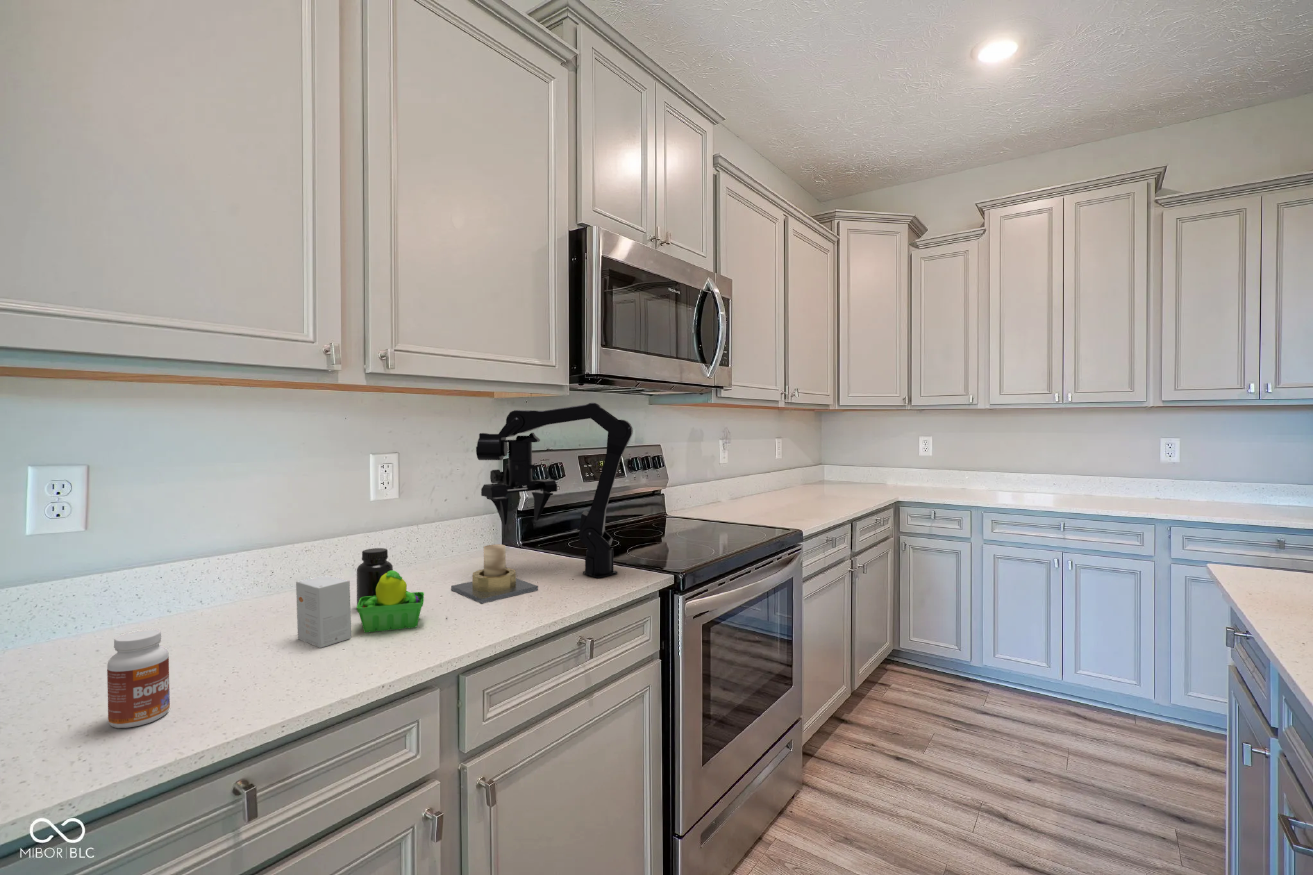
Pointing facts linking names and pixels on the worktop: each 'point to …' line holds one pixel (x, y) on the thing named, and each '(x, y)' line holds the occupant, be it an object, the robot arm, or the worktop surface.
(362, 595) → the supplement bottle
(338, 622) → the small box
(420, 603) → the fruit basket
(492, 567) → the piston
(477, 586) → the ring collar
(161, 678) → the pill bottle
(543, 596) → the worktop surface
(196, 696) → the worktop surface
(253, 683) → the worktop surface
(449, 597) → the worktop surface
